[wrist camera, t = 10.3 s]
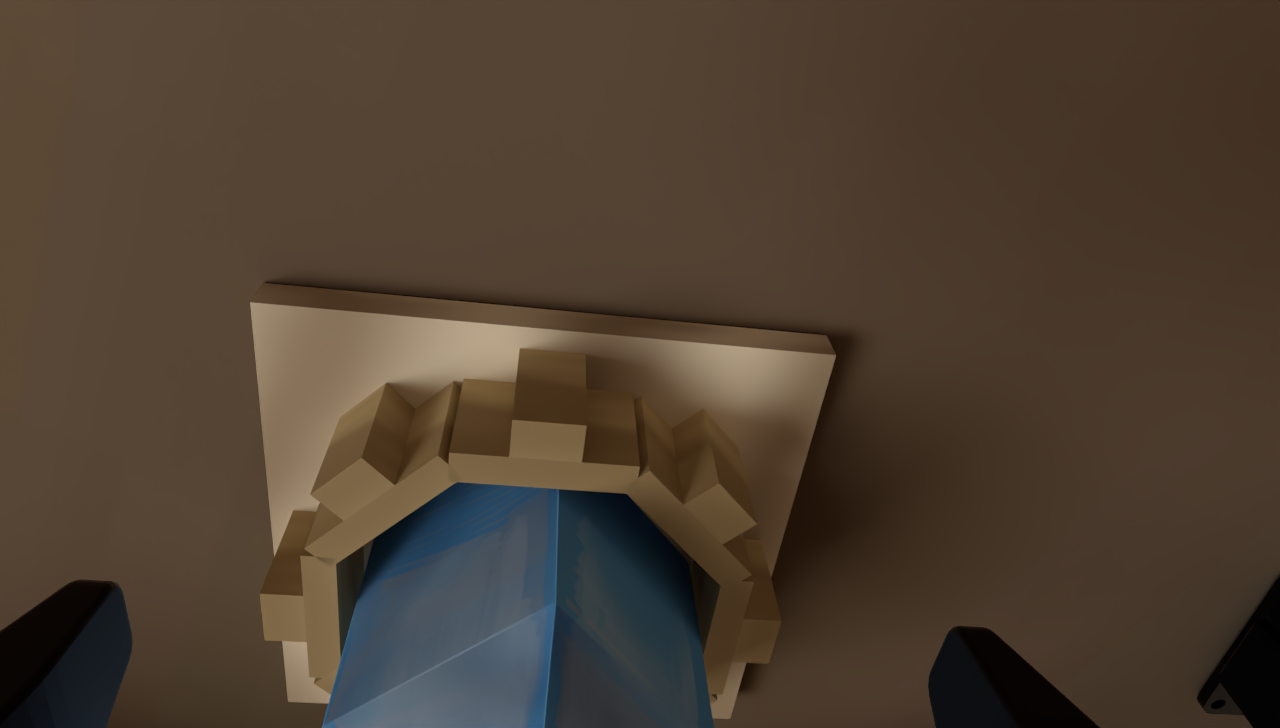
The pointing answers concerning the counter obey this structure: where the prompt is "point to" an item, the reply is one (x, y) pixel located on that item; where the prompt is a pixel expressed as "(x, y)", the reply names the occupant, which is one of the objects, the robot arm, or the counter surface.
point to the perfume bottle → (523, 618)
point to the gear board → (524, 446)
